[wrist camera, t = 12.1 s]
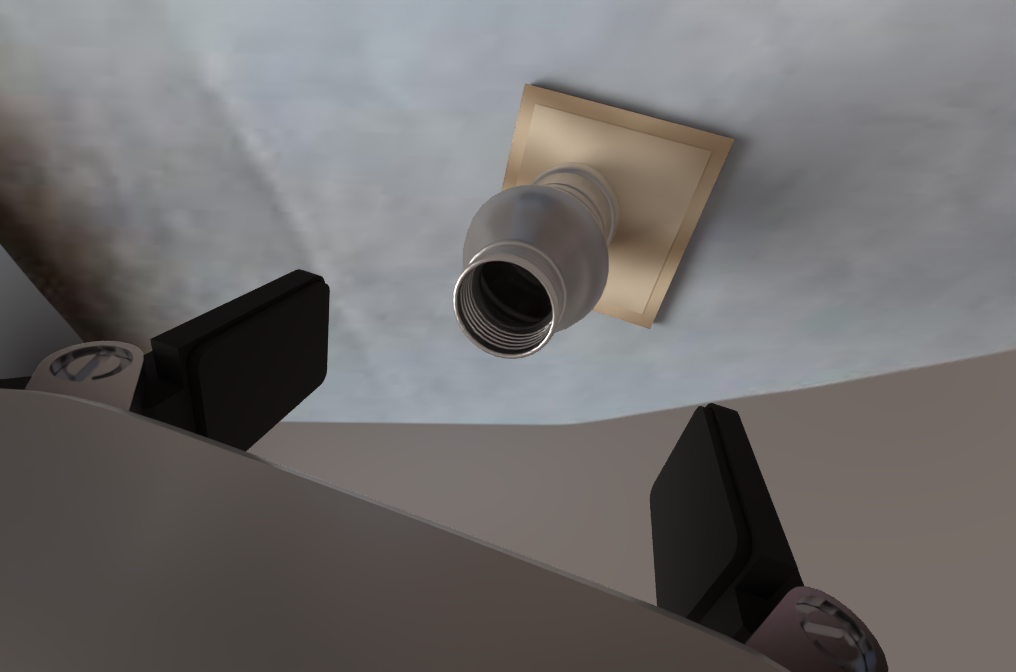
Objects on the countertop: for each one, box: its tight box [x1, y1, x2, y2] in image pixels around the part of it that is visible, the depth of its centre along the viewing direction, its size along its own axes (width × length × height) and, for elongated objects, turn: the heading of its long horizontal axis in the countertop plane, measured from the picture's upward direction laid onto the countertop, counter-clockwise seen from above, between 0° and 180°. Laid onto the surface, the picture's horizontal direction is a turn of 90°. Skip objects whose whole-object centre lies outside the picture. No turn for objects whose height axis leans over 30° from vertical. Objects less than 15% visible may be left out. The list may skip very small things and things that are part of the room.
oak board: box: [501, 84, 735, 329], centre depth 32 cm, size 14×14×1 cm
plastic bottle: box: [453, 162, 620, 359], centre depth 23 cm, size 6×7×20 cm
